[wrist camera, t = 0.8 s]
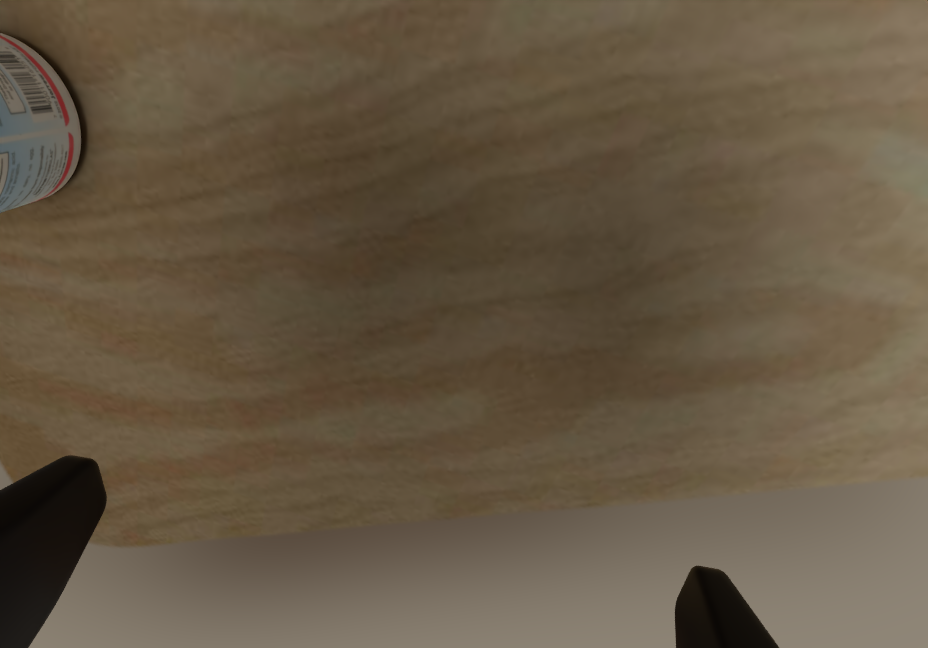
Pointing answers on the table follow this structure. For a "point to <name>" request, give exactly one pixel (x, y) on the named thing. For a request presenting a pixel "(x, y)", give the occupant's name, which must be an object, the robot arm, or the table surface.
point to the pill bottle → (33, 127)
